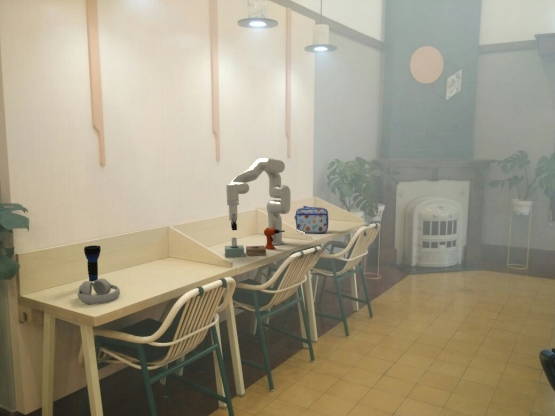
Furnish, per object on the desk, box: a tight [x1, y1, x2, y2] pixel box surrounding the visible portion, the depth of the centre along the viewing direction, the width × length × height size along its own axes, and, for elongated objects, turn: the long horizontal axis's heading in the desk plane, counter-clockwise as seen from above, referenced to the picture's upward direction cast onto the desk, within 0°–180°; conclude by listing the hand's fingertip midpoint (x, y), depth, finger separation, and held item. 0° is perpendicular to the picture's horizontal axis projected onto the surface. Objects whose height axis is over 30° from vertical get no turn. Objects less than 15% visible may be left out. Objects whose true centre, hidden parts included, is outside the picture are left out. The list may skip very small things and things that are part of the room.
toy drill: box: [263, 227, 286, 251], centre depth 338 cm, size 5×19×15 cm, turn 49°
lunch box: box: [293, 205, 329, 234], centre depth 400 cm, size 28×10×22 cm, turn 82°
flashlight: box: [83, 245, 102, 286], centre depth 256 cm, size 8×8×20 cm
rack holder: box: [224, 244, 245, 258], centre depth 324 cm, size 12×12×5 cm
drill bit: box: [231, 237, 238, 248], centre depth 324 cm, size 3×3×10 cm
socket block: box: [245, 245, 267, 257], centre depth 326 cm, size 12×12×4 cm
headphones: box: [77, 277, 121, 305], centre depth 233 cm, size 18×8×20 cm
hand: (234, 228), depth 323 cm, fingers open, 9 cm apart
